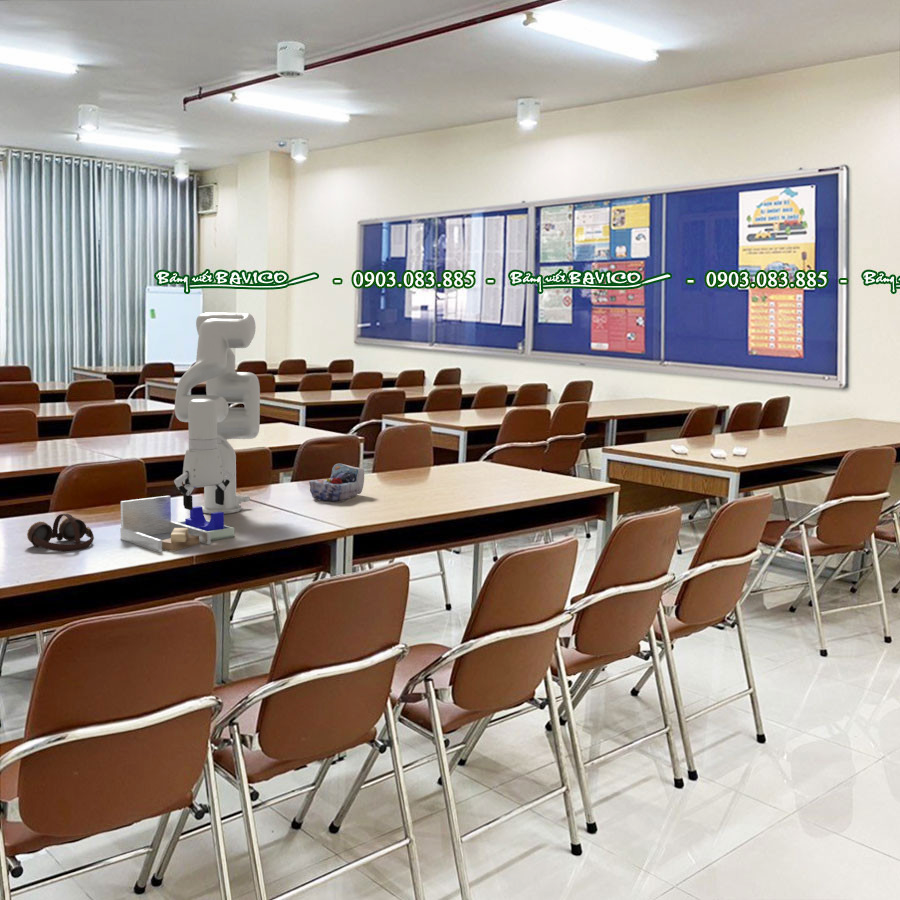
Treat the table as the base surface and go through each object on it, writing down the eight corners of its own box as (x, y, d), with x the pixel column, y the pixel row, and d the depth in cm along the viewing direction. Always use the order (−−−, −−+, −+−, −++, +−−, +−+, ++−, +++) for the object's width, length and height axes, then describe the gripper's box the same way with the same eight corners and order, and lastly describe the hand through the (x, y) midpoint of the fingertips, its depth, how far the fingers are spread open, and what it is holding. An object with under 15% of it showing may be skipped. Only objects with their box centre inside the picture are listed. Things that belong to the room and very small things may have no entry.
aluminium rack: (170, 531, 281) (169, 495, 280) (210, 543, 267) (210, 506, 266) (119, 538, 271) (118, 501, 270) (158, 552, 257) (157, 513, 255)
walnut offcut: (185, 543, 269) (185, 534, 269) (199, 545, 267) (199, 536, 267) (159, 550, 260) (158, 541, 260) (172, 552, 258) (172, 543, 258)
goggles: (78, 536, 272) (81, 501, 269) (104, 555, 264) (108, 519, 261) (22, 545, 260) (26, 509, 257) (48, 565, 252) (52, 528, 250)
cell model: (368, 463, 343) (339, 472, 325) (368, 495, 344) (339, 506, 326) (334, 460, 348) (304, 469, 330) (334, 491, 349) (304, 502, 331)
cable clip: (185, 529, 281) (185, 507, 281) (199, 527, 285) (199, 506, 284) (209, 536, 273) (209, 514, 272) (224, 534, 276) (223, 512, 276)
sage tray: (201, 527, 287) (201, 518, 287) (234, 537, 276) (234, 527, 275) (174, 531, 281) (174, 522, 281) (206, 541, 270) (206, 532, 269)
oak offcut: (174, 535, 267) (174, 527, 267) (188, 535, 267) (188, 527, 267) (170, 542, 259) (170, 534, 259) (185, 541, 260) (184, 534, 259)
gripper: (223, 440, 284) (224, 500, 287) (167, 445, 272) (168, 508, 275) (238, 443, 279) (238, 504, 282) (181, 449, 267) (183, 513, 270)
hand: (204, 506), depth 278 cm, fingers open, 9 cm apart
